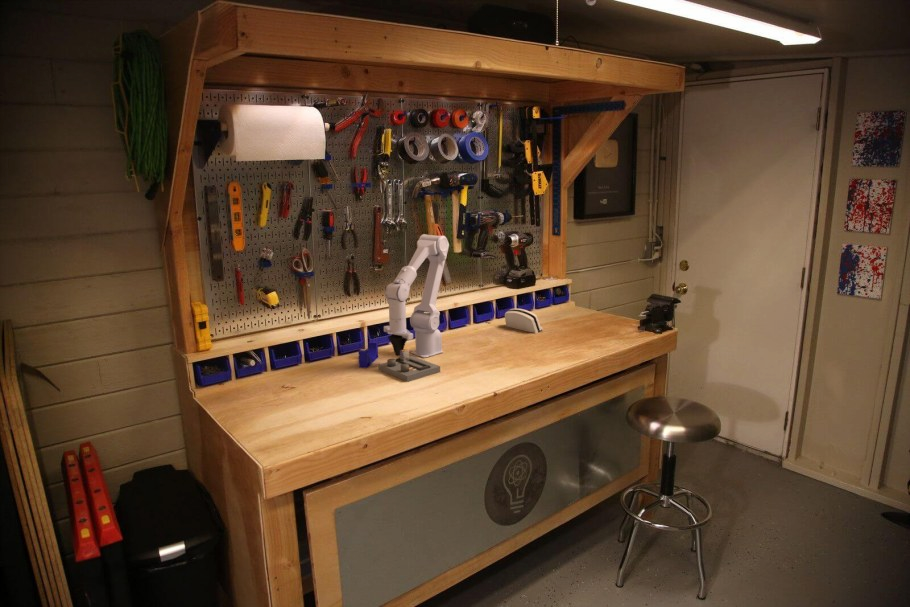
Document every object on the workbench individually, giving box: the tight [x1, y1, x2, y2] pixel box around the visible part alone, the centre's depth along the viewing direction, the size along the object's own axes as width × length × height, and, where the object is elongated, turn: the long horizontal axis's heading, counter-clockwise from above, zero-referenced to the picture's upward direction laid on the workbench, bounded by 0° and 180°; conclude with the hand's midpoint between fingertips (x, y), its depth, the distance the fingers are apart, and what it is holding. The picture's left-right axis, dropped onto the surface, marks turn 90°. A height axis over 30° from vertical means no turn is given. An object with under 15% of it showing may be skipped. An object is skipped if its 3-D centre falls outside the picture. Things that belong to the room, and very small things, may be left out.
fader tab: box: [399, 348, 410, 362], centre depth 212 cm, size 3×2×4 cm
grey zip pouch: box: [504, 308, 544, 334], centre depth 257 cm, size 17×5×10 cm, turn 45°
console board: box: [378, 355, 441, 383], centre depth 208 cm, size 14×16×4 cm
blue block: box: [357, 341, 379, 369], centre depth 218 cm, size 12×4×6 cm, turn 169°
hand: (398, 355), depth 214 cm, fingers closed
